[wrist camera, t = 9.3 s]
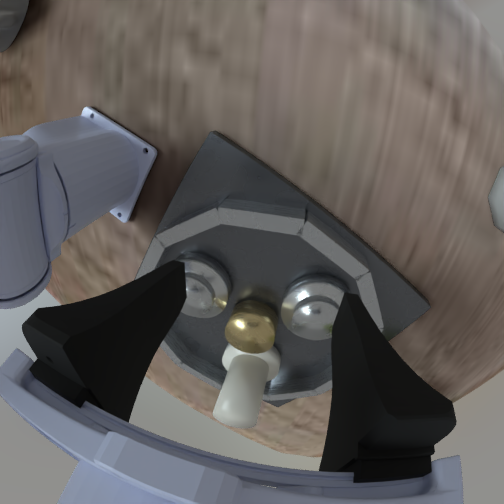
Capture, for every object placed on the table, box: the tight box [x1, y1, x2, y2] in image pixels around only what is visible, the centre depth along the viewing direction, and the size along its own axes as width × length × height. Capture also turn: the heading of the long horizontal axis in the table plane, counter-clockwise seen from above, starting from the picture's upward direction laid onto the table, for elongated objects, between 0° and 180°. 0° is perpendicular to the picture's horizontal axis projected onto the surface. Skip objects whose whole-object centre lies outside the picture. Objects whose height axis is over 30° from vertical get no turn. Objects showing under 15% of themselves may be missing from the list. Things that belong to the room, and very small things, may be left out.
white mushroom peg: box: [213, 343, 281, 428], centre depth 25 cm, size 6×6×8 cm
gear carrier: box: [135, 131, 431, 407], centre depth 25 cm, size 24×24×4 cm
